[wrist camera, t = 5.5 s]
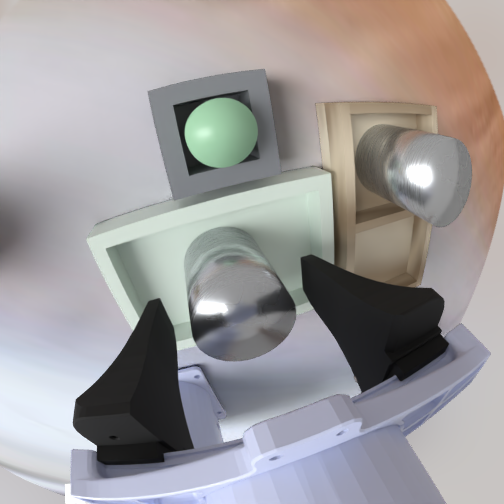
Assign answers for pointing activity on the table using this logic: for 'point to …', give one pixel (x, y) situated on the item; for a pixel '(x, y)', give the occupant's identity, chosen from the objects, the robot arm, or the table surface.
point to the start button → (221, 132)
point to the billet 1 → (235, 296)
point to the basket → (70, 501)
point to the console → (185, 102)
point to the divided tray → (372, 195)
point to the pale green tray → (208, 217)
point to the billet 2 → (415, 171)
